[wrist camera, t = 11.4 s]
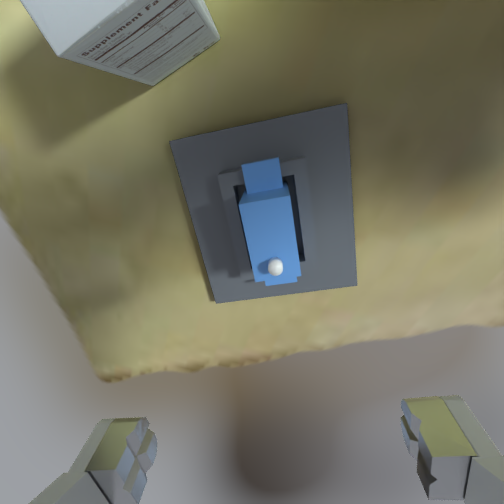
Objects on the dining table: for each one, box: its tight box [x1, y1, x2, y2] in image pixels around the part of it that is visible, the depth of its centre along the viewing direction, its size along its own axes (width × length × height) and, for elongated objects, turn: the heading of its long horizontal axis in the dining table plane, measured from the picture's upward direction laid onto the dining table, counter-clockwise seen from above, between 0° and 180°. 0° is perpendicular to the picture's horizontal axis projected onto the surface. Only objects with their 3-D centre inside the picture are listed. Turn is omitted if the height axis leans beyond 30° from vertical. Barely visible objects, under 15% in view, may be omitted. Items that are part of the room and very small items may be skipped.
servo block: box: [239, 157, 301, 286], centre depth 25 cm, size 4×12×7 cm, turn 11°
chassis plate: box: [169, 103, 357, 304], centre depth 28 cm, size 16×18×3 cm
